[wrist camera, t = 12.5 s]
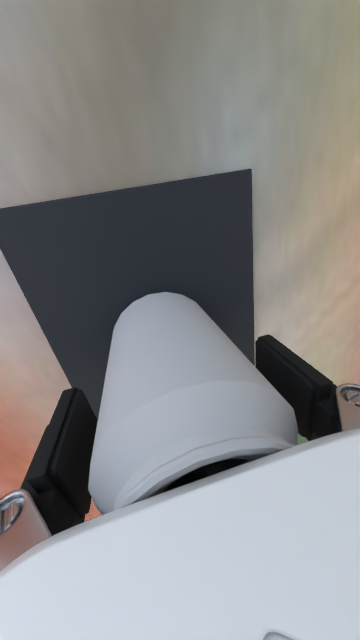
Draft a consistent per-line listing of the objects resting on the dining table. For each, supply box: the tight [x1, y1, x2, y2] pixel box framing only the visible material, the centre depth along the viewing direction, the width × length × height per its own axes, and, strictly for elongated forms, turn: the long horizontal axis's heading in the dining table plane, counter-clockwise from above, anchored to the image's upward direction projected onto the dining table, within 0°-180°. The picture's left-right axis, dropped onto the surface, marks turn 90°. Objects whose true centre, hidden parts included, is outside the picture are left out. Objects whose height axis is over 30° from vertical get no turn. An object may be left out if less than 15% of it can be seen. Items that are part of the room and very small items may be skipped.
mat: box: [0, 169, 255, 420], centre depth 17 cm, size 20×16×1 cm
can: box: [88, 292, 298, 515], centre depth 11 cm, size 8×8×12 cm
